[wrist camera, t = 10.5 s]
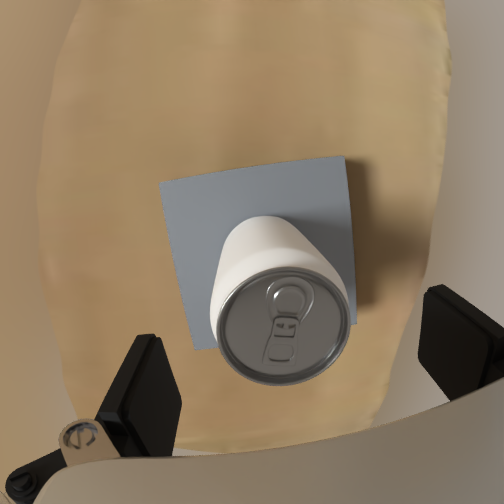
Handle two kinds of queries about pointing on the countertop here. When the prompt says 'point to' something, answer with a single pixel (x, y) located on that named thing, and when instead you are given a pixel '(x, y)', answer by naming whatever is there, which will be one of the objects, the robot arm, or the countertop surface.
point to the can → (277, 304)
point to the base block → (248, 206)
